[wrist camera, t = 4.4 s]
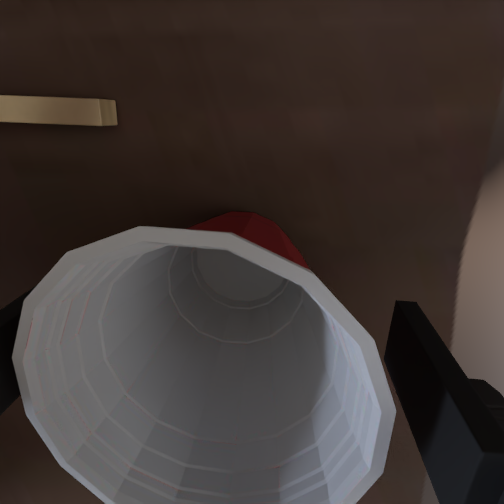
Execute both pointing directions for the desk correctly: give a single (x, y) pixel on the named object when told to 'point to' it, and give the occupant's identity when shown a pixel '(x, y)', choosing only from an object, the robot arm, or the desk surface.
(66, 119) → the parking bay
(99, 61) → the desk surface
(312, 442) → the plastic cup
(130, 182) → the desk surface
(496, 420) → the robot arm
